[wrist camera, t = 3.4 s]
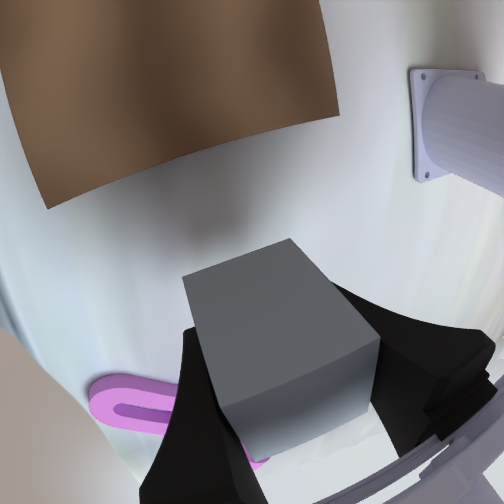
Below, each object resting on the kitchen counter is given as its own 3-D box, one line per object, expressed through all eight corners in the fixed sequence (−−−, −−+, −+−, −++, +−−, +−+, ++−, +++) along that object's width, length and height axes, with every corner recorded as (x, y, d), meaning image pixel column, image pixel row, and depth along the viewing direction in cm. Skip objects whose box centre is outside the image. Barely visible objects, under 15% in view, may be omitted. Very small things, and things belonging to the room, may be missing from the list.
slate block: (289, 237, 13) (380, 337, 8) (301, 316, 15) (367, 411, 10) (182, 276, 12) (220, 408, 7) (214, 350, 14) (255, 462, 9)
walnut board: (266, -103, 8) (280, -119, 6) (318, 111, 15) (339, 115, 14) (2, -39, 6) (-12, -51, 4) (57, 195, 13) (47, 209, 11)
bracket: (249, 395, 25) (278, 461, 20) (218, 428, 27) (240, 489, 21) (98, 364, 19) (100, 453, 13) (82, 405, 20) (85, 482, 14)
